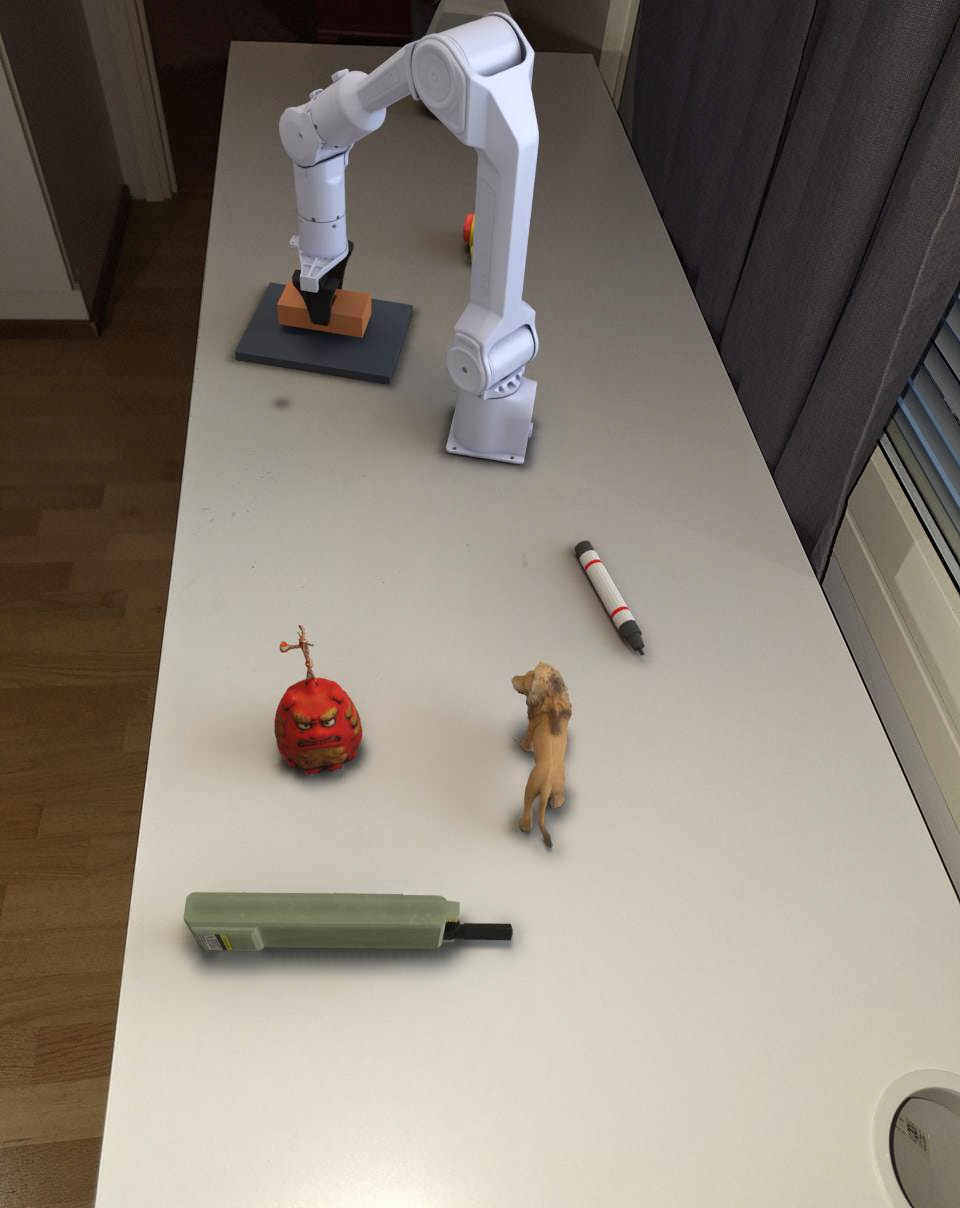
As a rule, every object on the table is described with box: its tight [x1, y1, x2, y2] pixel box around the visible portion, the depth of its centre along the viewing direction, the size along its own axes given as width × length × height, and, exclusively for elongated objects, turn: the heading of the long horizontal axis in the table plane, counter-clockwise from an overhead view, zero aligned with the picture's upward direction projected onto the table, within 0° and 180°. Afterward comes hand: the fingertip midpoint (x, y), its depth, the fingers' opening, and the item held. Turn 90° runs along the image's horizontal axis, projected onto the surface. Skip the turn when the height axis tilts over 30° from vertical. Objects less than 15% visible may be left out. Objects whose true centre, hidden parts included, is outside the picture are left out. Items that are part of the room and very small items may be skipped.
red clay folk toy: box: [273, 624, 363, 776], centre depth 77 cm, size 8×7×15 cm
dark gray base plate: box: [234, 282, 414, 385], centre depth 118 cm, size 20×16×6 cm
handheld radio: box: [183, 891, 514, 952], centre depth 70 cm, size 7×3×25 cm
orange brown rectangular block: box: [277, 280, 372, 338], centre depth 117 cm, size 11×5×3 cm, turn 82°
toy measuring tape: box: [462, 213, 475, 264], centre depth 136 cm, size 6×19×7 cm, turn 166°
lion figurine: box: [510, 660, 573, 849], centre depth 80 cm, size 15×5×9 cm, turn 6°
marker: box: [573, 539, 645, 656], centre depth 95 cm, size 15×2×2 cm, turn 20°
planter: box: [424, 0, 513, 36], centre depth 156 cm, size 17×8×21 cm
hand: (326, 309), depth 117 cm, fingers closed on orange brown rectangular block, 5 cm apart
